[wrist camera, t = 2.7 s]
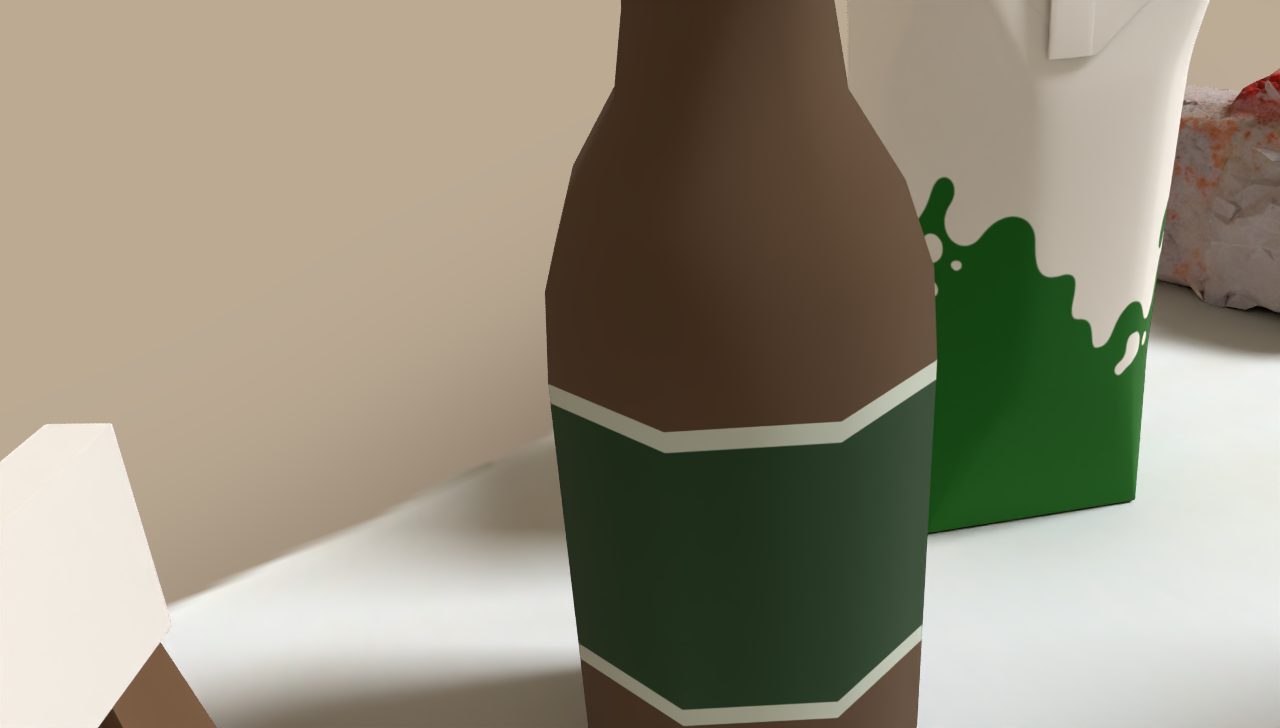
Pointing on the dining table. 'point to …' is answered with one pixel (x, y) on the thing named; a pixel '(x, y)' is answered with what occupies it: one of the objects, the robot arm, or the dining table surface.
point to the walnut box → (158, 699)
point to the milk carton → (1032, 228)
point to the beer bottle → (742, 382)
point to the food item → (1226, 197)
